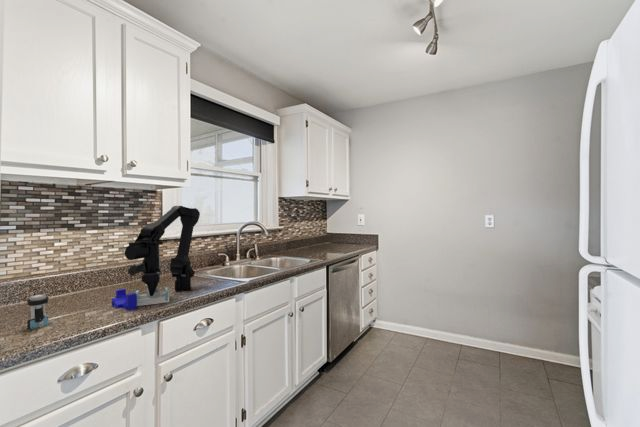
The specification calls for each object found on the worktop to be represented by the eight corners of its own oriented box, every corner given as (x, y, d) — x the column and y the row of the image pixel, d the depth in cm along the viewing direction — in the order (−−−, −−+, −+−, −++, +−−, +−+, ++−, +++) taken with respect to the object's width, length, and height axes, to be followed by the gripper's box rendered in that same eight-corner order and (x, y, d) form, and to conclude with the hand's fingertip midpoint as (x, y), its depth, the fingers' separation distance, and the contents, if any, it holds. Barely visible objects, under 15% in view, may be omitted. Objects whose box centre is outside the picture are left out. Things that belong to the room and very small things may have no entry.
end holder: (169, 296, 136) (169, 286, 136) (169, 302, 127) (169, 292, 127) (135, 299, 131) (135, 290, 131) (132, 306, 122) (132, 296, 122)
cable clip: (111, 306, 123) (111, 291, 123) (124, 303, 127) (124, 288, 127) (123, 312, 116) (123, 296, 116) (136, 308, 119) (136, 293, 119)
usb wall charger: (149, 298, 125) (149, 288, 125) (144, 295, 130) (144, 286, 130) (160, 296, 128) (160, 287, 128) (154, 293, 133) (154, 284, 133)
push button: (47, 321, 106) (47, 292, 106) (57, 323, 104) (57, 293, 104) (23, 328, 100) (22, 297, 100) (33, 330, 98) (32, 299, 98)
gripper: (131, 254, 134) (132, 290, 134) (126, 261, 117) (126, 302, 117) (160, 252, 139) (161, 287, 139) (159, 258, 122) (159, 298, 122)
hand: (152, 293), depth 129 cm, fingers closed on usb wall charger, 7 cm apart
